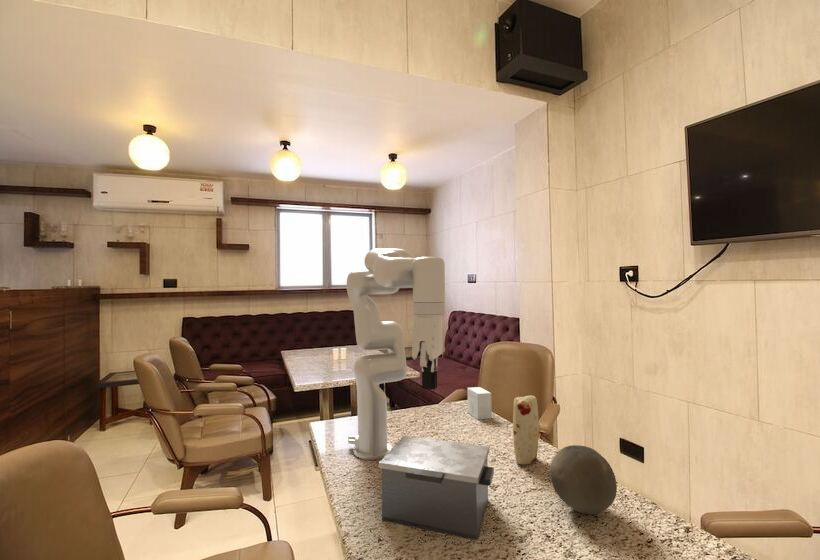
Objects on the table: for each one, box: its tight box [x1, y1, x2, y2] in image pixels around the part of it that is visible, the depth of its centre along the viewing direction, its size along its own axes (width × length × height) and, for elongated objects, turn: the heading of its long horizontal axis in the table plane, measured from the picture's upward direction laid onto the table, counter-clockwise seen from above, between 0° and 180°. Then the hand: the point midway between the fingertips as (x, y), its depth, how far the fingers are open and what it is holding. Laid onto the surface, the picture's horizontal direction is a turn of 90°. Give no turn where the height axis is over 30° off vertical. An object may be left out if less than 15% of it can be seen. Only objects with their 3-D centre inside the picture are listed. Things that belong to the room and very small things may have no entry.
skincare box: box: [466, 386, 492, 420], centre depth 160 cm, size 10×6×10 cm, turn 16°
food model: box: [512, 394, 540, 465], centre depth 117 cm, size 10×7×20 cm
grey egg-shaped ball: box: [549, 444, 618, 515], centre depth 90 cm, size 14×14×15 cm
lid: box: [378, 435, 490, 484], centre depth 91 cm, size 23×19×1 cm
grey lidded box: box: [380, 459, 495, 541], centre depth 92 cm, size 26×16×12 cm, turn 70°
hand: (429, 388), depth 89 cm, fingers closed
